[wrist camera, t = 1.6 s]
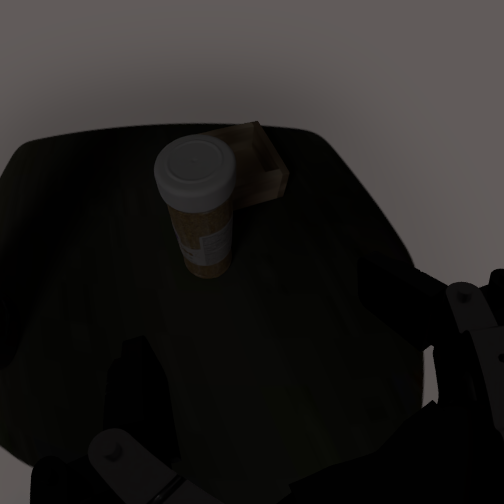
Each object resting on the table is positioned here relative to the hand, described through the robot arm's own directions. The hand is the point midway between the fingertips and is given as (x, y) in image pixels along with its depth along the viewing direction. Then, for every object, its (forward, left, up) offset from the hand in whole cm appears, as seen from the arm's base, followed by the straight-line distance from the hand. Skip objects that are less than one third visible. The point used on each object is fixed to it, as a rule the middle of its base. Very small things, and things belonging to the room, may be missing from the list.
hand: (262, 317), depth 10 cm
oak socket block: (+6, +17, -15) cm, 24 cm away
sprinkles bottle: (0, +9, -15) cm, 18 cm away
